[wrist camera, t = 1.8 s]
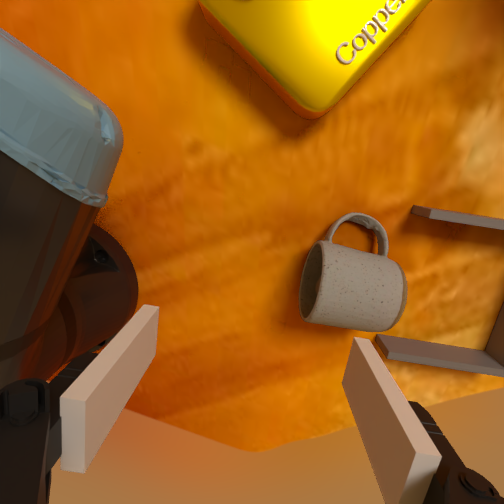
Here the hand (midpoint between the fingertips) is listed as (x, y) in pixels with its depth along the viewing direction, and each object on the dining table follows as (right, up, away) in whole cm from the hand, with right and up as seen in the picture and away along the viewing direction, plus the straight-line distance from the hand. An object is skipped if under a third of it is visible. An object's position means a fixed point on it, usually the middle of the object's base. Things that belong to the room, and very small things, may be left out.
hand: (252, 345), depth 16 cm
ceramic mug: (+9, +4, +17) cm, 20 cm away
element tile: (+5, +27, +12) cm, 30 cm away
